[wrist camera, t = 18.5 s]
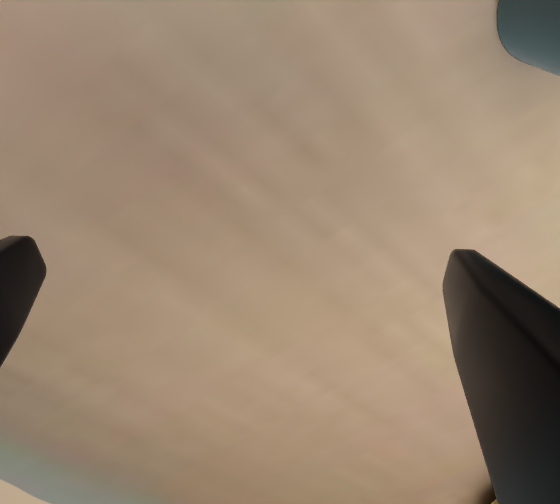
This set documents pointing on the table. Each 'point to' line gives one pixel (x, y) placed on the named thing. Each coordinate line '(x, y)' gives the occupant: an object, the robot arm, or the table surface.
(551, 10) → the tin
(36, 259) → the robot arm
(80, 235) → the table surface
